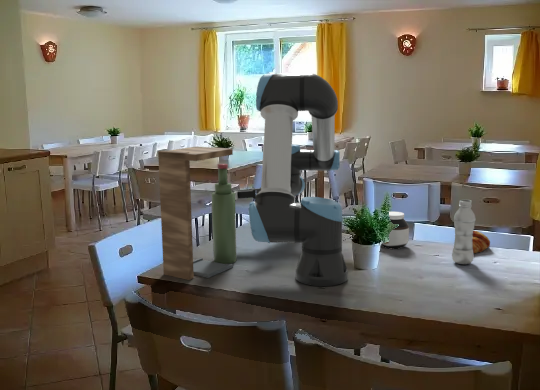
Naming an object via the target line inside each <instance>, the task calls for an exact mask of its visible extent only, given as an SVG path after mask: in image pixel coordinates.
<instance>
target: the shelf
mask: <svg viewBox="0 0 540 390" xmlns="http://www.w3.org/2000/svg"><path fill="white" fill-rule="evenodd" d="M233 152H234V151H233V148H228V147H227V148H226V147H225V148H224V147H213V146H212V147H209V146H192V147H191V146H190V147H185V148H177V149H170V150H169V149H168V150H158V152H157V153H158V154H157V155H158V157H157V159H158V177H159V179H158V180H159V181H158V182H159V197H160V198H159V199H160V200H159V202H160V221H161V223H160V224H161V226H160V227H161V246H162V264H163V265H162V266H163V267H162V270H163V275H165V276H170V277H173V278H179V279H183V280H187V281H188V280H189V281H190V280H192V279H195V277H194V276H195V275H194V272H193V260H194V253H193V251H194V250H193V249H194V246H193V224H192V223H193V221H192V220H193V219H192V215H193V214H192V197H191V196H192V195H191V192H192V191H191V190H192V189H191V168H190V167H191V166H190V165H191V162H190V161H193V162H197V161H198V162H200V161H205V160H209V159H210V160H211V159H215V158H222V157H227V156H233V155H234V153H233Z"/></svg>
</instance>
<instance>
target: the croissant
mask: <svg viewBox="0 0 540 390" xmlns="http://www.w3.org/2000/svg"><path fill="white" fill-rule="evenodd" d="M472 236H473V238H472V243H473V254H477V253H482V252H483V251H485V250H486V249H488V248H489V247H490V245H491V241H490V238H488V236H486V235H485V234H484V233H482V232H480V231H477V230H473V235H472Z"/></svg>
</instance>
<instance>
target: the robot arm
mask: <svg viewBox="0 0 540 390" xmlns="http://www.w3.org/2000/svg"><path fill="white" fill-rule="evenodd" d="M255 97H256V98H255V106H256V107H255V108H256V110H257V111H258V112H260V116H261V117H262V118H263V119H264V130H263V132H264V134H263V147H262V148H263V150H262V151H263V152H262V166H261V184H260V185H261V187H257V188H255V187H250V188H242V189H234V190H233V189H232V192H235V202H236V201H237V200H239V199H248V198H249V199H252V198H253V200H255V201H250V202H249V204H248V217H249V225H250V230H251V235H252V238H253V239H254V241H256V242H258V243H259V242H260V243H267V244H272V243H273V244H275V243H277V244H279V243H281V244H284V243H285V244H287V243H288V244H301V252H300V256H299V258H298V262H297V265H296V268H295V280H296V281H298V282H299V283H301V284H305V285H308V286H315V287H331V286H332V287H333V286H338V285H341V284H343V283H346V282H347V281H348V280H349V279H348V278H349V277H348V276H349V274H348V268H347V264H346V261H345V258H344V256H343V255H344V254H343V221H344V218H343V208H342V205H341V204H340V203H339V201H338V202H337V201H336V200H333V199H330V198H326V197H321V196H320V197H318V196H305V197H303V198H301V199H300V202H296V201H295V200H296V198H295V197H296V196H298V195H300V194H302V193H303V192H304V190H305V188H306V183H305V180H304V178H303V177H302V176H301V171H320V172H321V171H324V172H325V171H326V172H330V171H338V170H340V163H341V161H340V159H341V157H340V156H341V155H340V153H341V152H340V150H338V149H335V148H336V147H335V141H336V140H335V135H336V134H335V130H336V128H335V124H336V123H335V119H336V117H335V115H336V114H337V112H338V110H339V109H338V107H339V105H338V104H339V103H338V97H337V94H336V92H335V90H334V88H333V87H332V86H331V84H330V83H329V82H328V81H327V80H326V79H324V78H323V77H321V76H320V75H317V74H316V73H312V72H311V73H310V72H305V73H304V72H302V73H301V72H298V73H297V72H296V73H286V72H285V73H277V72H273V73H265V74H262V76H261V77H260V78H259V80H258V83H257V87H256V95H255ZM299 112H308V113H309V116H311V132H312V134H311V135H312V148H313V149H301V145H300V144H293V127H294V125H293V123H294V122H293V121H295V120H296V119H297V118H298V116H299Z"/></svg>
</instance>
